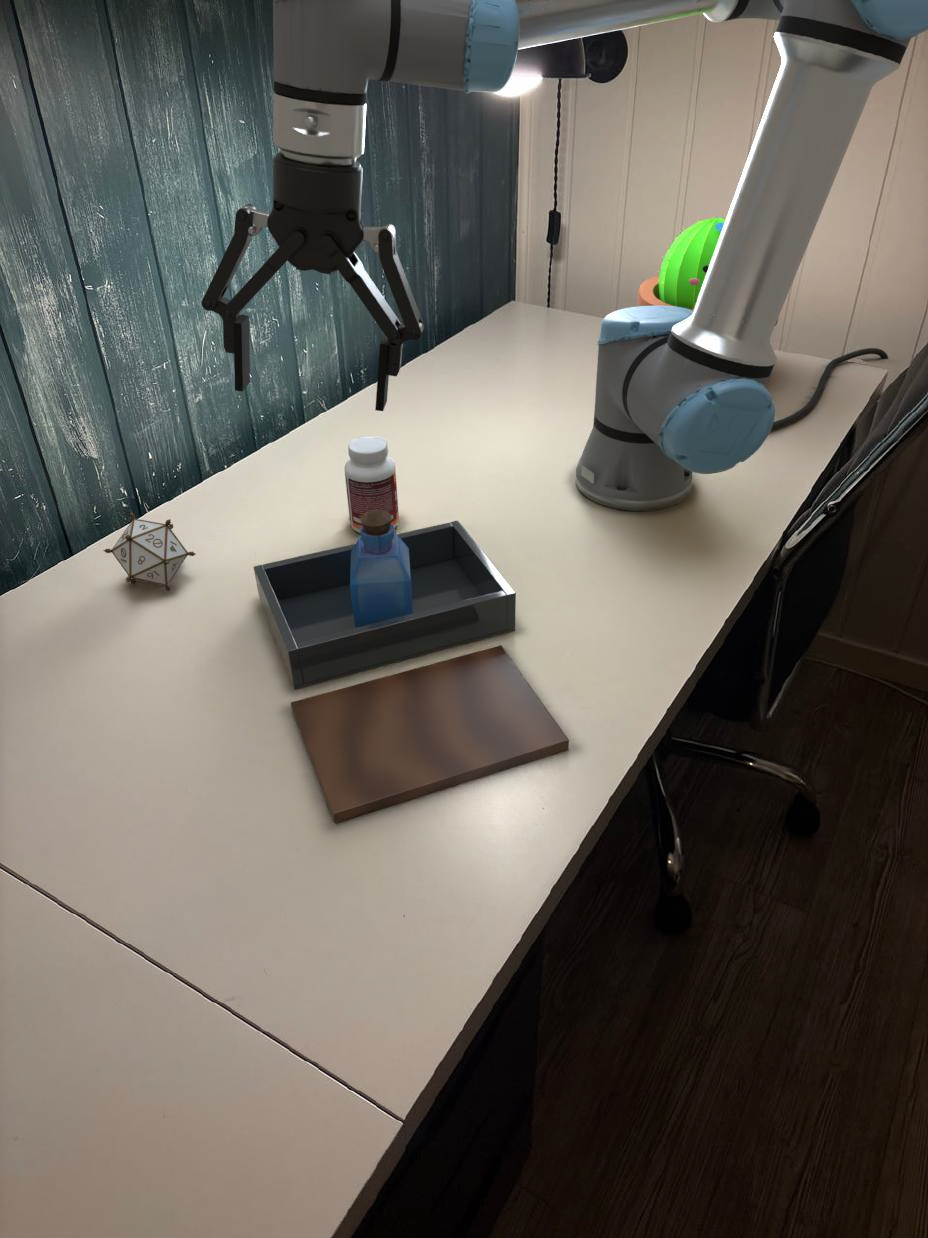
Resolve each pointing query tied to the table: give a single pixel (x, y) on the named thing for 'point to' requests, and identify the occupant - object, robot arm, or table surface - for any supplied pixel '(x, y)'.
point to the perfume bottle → (379, 572)
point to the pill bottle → (370, 480)
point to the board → (423, 731)
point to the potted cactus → (683, 267)
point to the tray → (442, 618)
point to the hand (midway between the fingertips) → (311, 396)
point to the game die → (149, 552)
